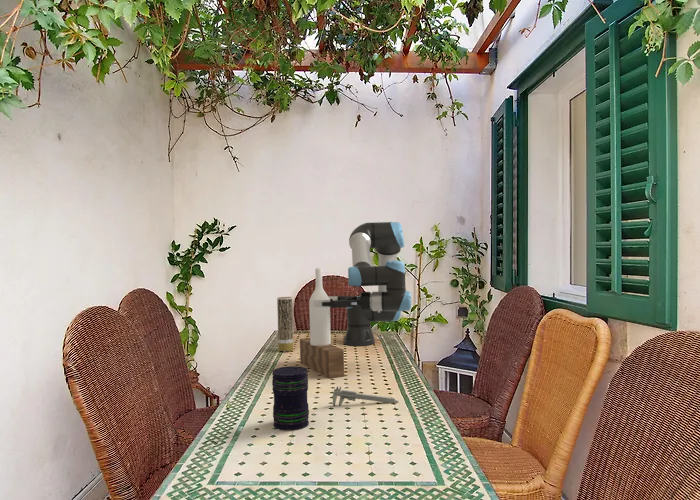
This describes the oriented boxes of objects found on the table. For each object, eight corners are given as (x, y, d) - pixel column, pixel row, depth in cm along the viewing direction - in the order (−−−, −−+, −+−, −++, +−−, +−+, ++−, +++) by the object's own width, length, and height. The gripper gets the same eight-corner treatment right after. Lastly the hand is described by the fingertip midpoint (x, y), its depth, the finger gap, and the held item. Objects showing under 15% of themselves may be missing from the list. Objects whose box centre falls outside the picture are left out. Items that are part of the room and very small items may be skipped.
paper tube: (294, 349, 248) (293, 296, 247) (291, 352, 241) (290, 298, 240) (280, 349, 248) (279, 296, 248) (277, 352, 241) (275, 298, 241)
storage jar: (294, 433, 137) (292, 376, 137) (265, 427, 143) (264, 372, 142) (316, 421, 146) (315, 368, 146) (288, 416, 151) (287, 364, 151)
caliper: (333, 407, 159) (332, 386, 159) (332, 406, 161) (332, 385, 160) (398, 403, 162) (398, 383, 162) (398, 402, 163) (397, 382, 163)
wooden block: (300, 362, 219) (299, 338, 219) (313, 361, 222) (313, 337, 222) (329, 378, 192) (328, 351, 192) (344, 376, 195) (343, 349, 195)
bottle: (306, 345, 205) (304, 268, 205) (317, 341, 213) (315, 267, 212) (324, 346, 202) (322, 268, 201) (334, 342, 209) (332, 267, 208)
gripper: (367, 315, 191) (310, 315, 195) (375, 307, 216) (325, 307, 219) (366, 295, 191) (310, 295, 195) (374, 289, 216) (324, 289, 219)
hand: (317, 301), depth 207 cm, fingers open, 13 cm apart
